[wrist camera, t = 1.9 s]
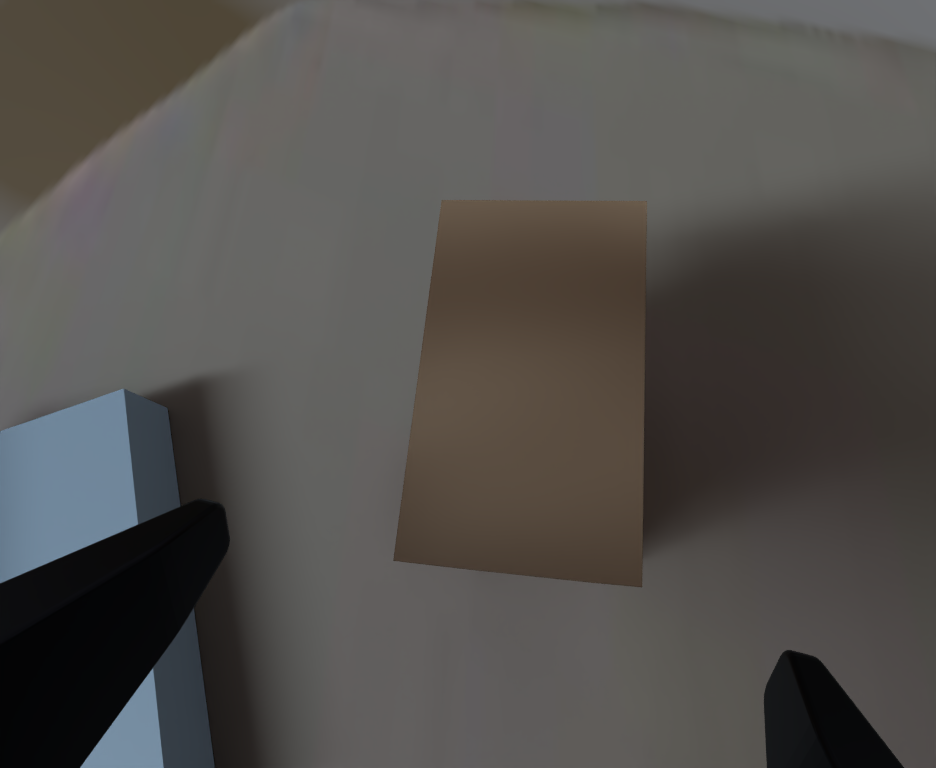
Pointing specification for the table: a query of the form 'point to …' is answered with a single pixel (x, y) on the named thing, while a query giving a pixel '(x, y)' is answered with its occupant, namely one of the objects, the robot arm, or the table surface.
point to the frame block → (531, 393)
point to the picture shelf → (93, 519)
